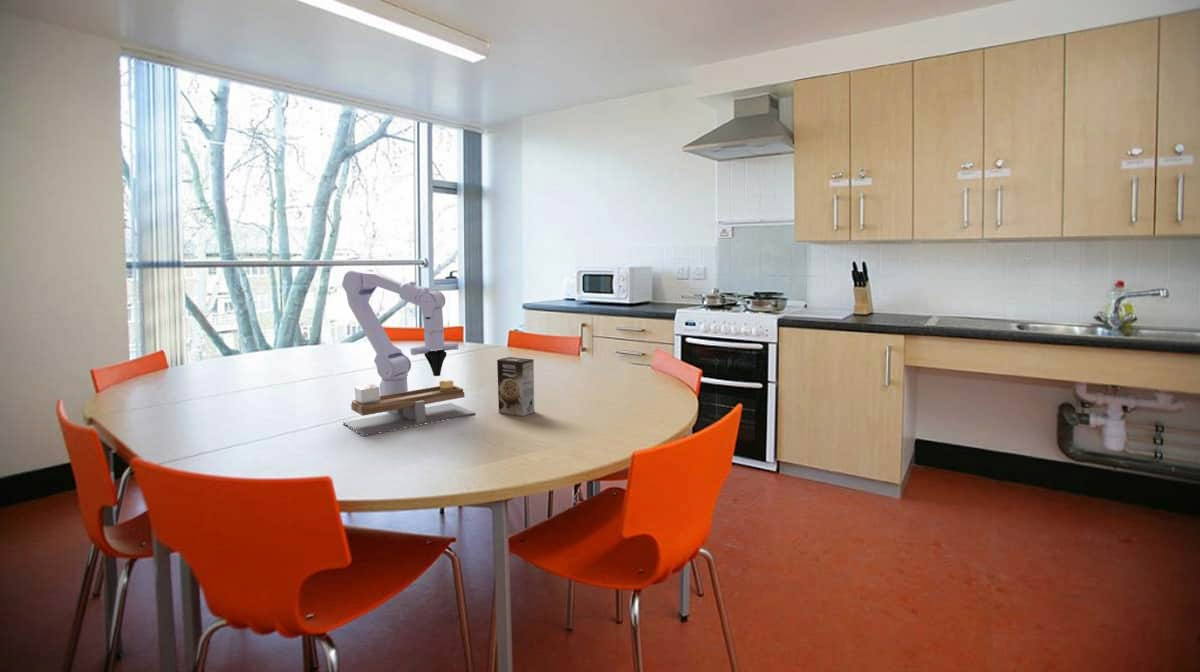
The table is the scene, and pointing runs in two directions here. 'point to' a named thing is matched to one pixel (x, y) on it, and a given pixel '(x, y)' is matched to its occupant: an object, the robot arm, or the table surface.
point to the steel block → (367, 394)
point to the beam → (407, 400)
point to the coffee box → (515, 386)
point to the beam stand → (408, 417)
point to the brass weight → (446, 386)
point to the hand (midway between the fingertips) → (436, 375)
